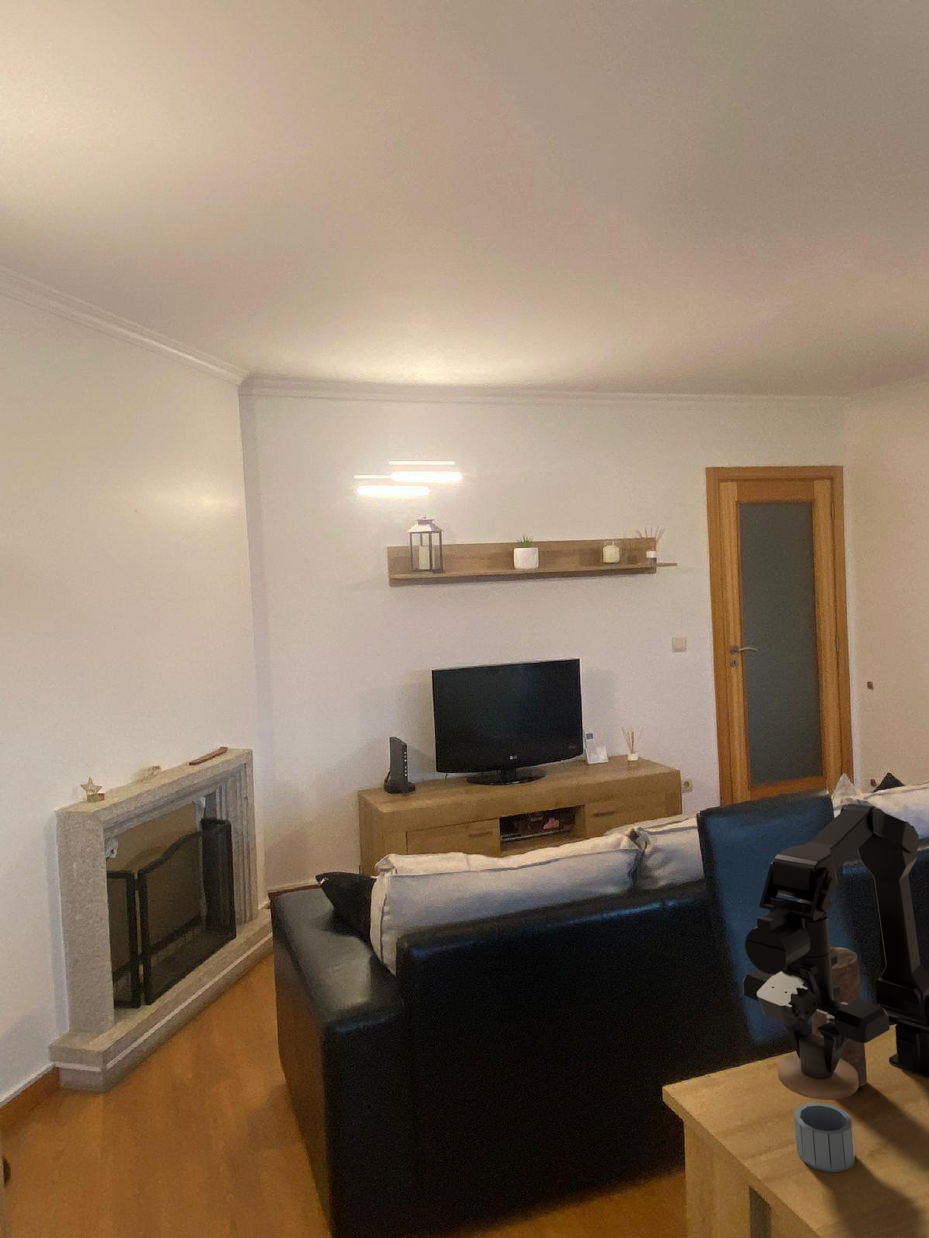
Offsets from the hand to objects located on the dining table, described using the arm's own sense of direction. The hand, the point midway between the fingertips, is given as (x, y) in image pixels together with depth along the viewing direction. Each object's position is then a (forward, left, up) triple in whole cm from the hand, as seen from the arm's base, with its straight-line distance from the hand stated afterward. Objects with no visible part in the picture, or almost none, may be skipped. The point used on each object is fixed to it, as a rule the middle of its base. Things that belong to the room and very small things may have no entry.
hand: (816, 1064), depth 113 cm
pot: (0, 0, -12) cm, 12 cm away
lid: (0, 0, -2) cm, 2 cm away
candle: (-17, -8, -12) cm, 22 cm away
